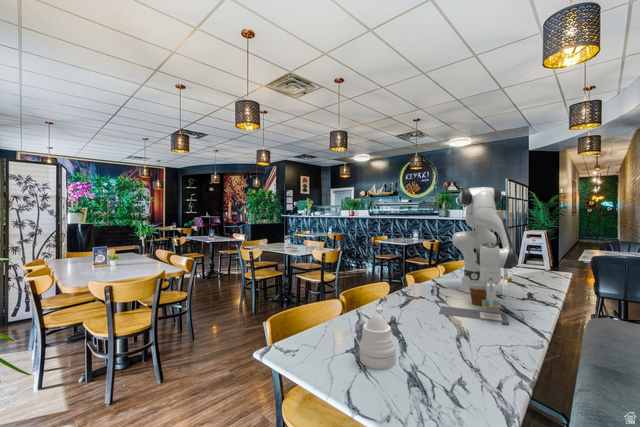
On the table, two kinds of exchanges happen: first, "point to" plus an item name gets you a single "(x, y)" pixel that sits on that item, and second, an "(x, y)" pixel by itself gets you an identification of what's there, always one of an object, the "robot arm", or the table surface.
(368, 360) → the honey pot
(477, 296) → the disposable coffee cup
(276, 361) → the table surface
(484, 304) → the teal flat block
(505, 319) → the rubber mat
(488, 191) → the robot arm
